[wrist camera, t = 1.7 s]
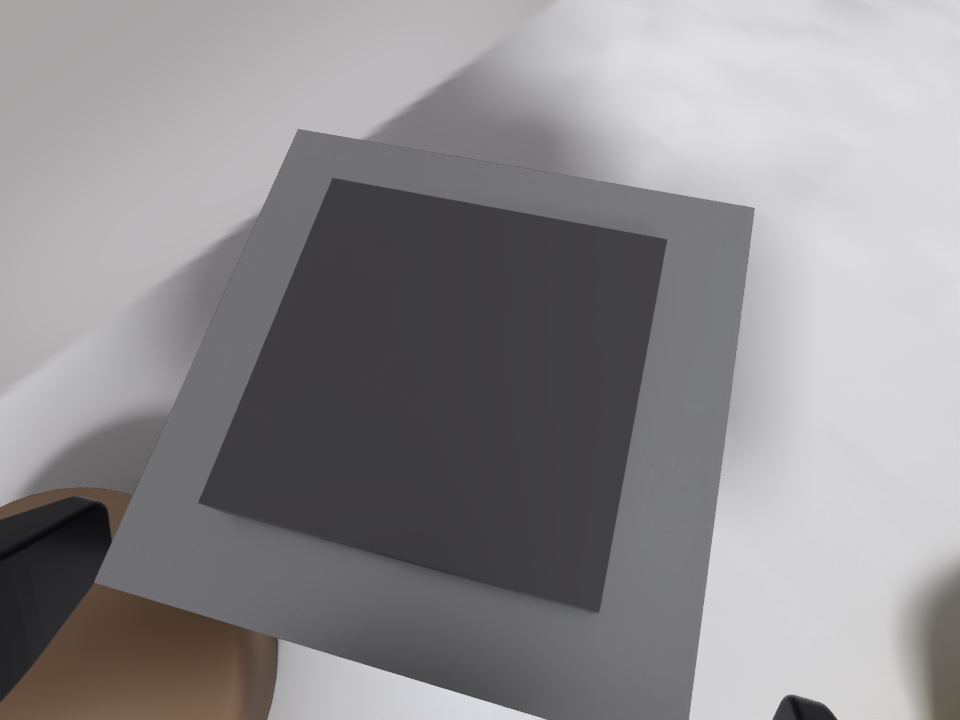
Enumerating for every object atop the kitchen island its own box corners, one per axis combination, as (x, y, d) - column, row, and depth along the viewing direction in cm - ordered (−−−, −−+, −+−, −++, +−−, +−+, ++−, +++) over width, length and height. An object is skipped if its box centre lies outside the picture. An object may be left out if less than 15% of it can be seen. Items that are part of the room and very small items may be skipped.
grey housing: (577, 669, 17) (697, 773, 5) (361, 606, 18) (62, 578, 6) (619, 450, 19) (768, 182, 7) (423, 404, 20) (285, 101, 8)
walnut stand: (301, 818, 16) (254, 860, 13) (-63, 929, 16) (-190, 996, 13) (253, 471, 19) (208, 445, 17) (-47, 555, 19) (-145, 544, 16)
